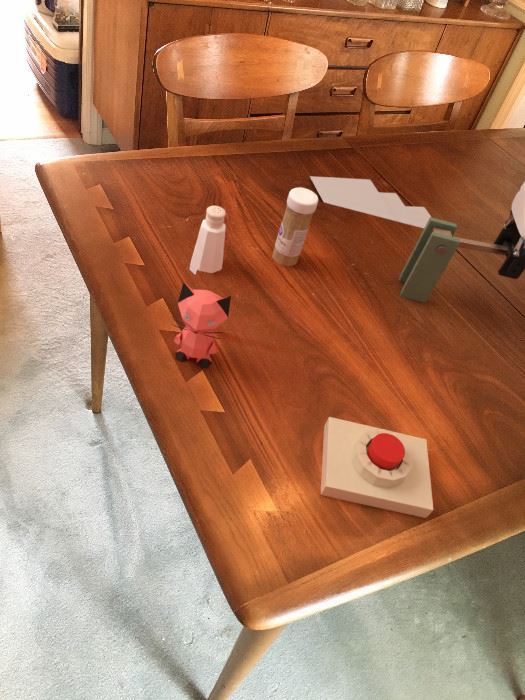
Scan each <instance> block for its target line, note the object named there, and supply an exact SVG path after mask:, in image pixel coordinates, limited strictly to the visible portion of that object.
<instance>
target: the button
mask: <svg viewBox="0 0 525 700" xmlns="http://www.w3.org/2000/svg"><path fill="white" fill-rule="evenodd" d="M368 456H369V458H370V460H371V461H372V462H373V463H374V464H375V465H376V466H377V467H379V468H381V469H385V470H391V469H394V468H396V467H397V466H398V464H399V463H400V462H401V460H402V459H403V458H404V456H405V448H404V446H403V444H402V442H401V441H400V440H399V439H398V438H397V437H395V436H393V435H391V434H388V433H381V434H378V435H376V436H375V437H374V439H373V440H372V442H371V443H370V445H369V447H368Z"/></svg>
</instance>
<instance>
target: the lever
mask: <svg viewBox="0 0 525 700" xmlns="http://www.w3.org/2000/svg"><path fill="white" fill-rule="evenodd" d="M432 232H435V233H439V234H443V235H447V236H451V237H453V236H452V235H451V230H446V229H441V228H435V227H433V229H432V231H431V233H432ZM431 233H430V235H431ZM429 237H430V236H429ZM454 237H455V238H458V239H460V242H461V243H460V245H459V246H458V248H460V249H466V250H467V249H468V250H473V251H477V252H483V253H489V254H495V255H498V256H499V255H500V256H504V257H505V259H506V258H507V257H508V255H509V254H510V252H513V253H514V250H515V248H514V246H513V243H512V240H511V239H510V238H504V239H503V240H502V245H503V246H501V245H496V244H493V243H491V242H490V243H489V242H485V241H478V240H473V239H468V238H462V237H457V236H454ZM428 239H429V238H428Z"/></svg>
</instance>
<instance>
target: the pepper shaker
mask: <svg viewBox="0 0 525 700" xmlns="http://www.w3.org/2000/svg"><path fill="white" fill-rule="evenodd" d="M226 215H227V212H226V210H225V208H224V207H221V206H219V205H210V206H208V207H207V208H206V214H205V218H204V219H203V220H202V222H201V225H200V228H199V232H198V235H197V239H196V242H195V246H194V248H193V249H194V250H193V254H192V256H191V260H190V264H189V271H190V272H191V273H192V274H193V275H194V276H196V274H197V272H204V273H207V274H215V273H216V272H219V271H221V270H223V263H224V253H225V252H224V251H225V239H226V229H227V228H226V227H227V226H226V223H224V222H225V217H226Z"/></svg>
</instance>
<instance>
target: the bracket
mask: <svg viewBox="0 0 525 700" xmlns="http://www.w3.org/2000/svg"><path fill="white" fill-rule="evenodd" d="M457 224H458V223H455V222H451V221H447V220H443V219H439V218H436V217H432V216H431V217H430V218H429V220H428V222H427V224H426V226H425V228H423V229H422V232H421V234H420V235H419V237H418V239H417V241H416V244H415V245H414V246H413V249H412V251H411V253H410V254H409V256H408V258H407V261H406V263H405V265H404V267H403V269H402V271H401V272H400V274H399V276H398V282H400V283H404V284H403V286H402V288H401V290H400V292H399V297H401V298H405V299H408V300H412V301H416V302H419V303H420V302H421V303H426V302H427V301H428V299H429V297H430V296H431V294H432V292H433V290H434V289H435V287H436V285H437V284H438V282H439V280H440V279H441V277H442V276H443V274H444V272H445V270H446V268H447V267H448V265H449V263H450V262H451V261H452V258H453V256H454V255H455V253H456V251H457V250H458V248H459V247H458V246H459V245H460V243H461V242H460V239H458V238H459V237H458V238H455V237H456V236H454V234H455V233H456V230H457V229H458V225H457ZM433 227H435V228H441V229H446V230H451V235H452V237H451V236H447V235H443V234H439V233H435V232H432V233H431V231H432V229H433ZM430 233H431V235H430ZM429 236H430V237H429ZM428 238H429V239H428Z"/></svg>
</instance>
